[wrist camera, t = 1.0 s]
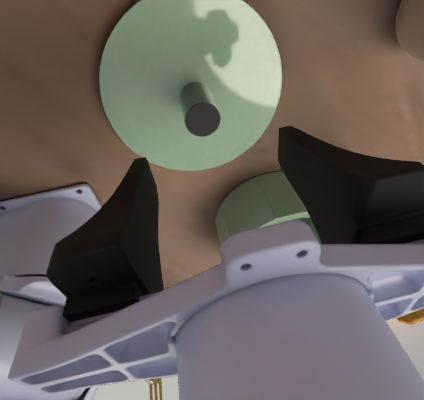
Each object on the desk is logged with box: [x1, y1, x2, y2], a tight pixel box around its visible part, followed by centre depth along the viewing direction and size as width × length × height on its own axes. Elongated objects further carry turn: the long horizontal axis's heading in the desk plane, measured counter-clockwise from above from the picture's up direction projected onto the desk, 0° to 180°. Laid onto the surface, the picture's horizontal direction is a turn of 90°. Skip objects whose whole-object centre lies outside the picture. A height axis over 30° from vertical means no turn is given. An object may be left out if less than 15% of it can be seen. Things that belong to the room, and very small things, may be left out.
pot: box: [215, 171, 322, 247], centre depth 31 cm, size 13×13×6 cm
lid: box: [99, 0, 282, 171], centre depth 20 cm, size 14×14×5 cm
